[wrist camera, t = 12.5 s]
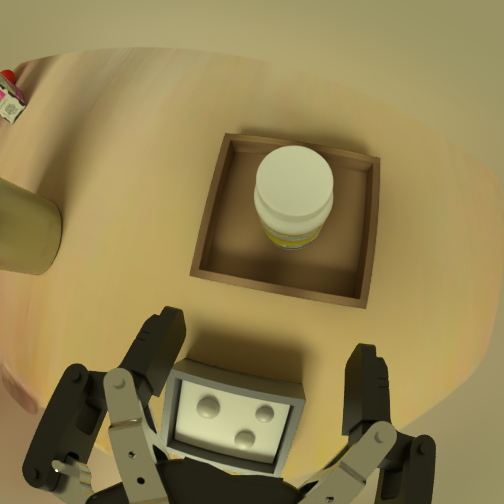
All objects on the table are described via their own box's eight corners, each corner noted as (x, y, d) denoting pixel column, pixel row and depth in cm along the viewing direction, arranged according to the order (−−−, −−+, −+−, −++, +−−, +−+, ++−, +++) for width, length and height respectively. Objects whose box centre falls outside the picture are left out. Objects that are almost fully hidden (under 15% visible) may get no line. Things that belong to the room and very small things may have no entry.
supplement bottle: (284, 182, 22) (284, 124, 14) (332, 215, 21) (358, 170, 13) (249, 227, 22) (229, 188, 13) (297, 263, 21) (307, 242, 13)
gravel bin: (174, 432, 20) (159, 448, 17) (184, 357, 21) (168, 367, 18) (280, 458, 19) (279, 480, 15) (302, 384, 20) (305, 399, 16)
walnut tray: (199, 277, 22) (189, 275, 20) (230, 148, 24) (225, 133, 21) (356, 307, 20) (365, 309, 18) (371, 171, 22) (380, 158, 19)
